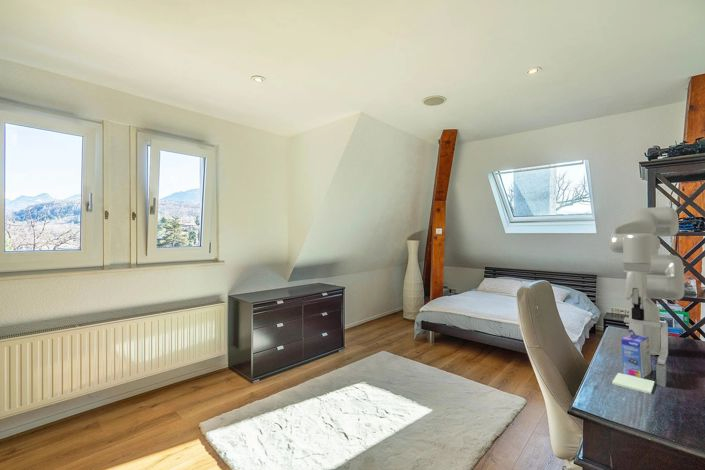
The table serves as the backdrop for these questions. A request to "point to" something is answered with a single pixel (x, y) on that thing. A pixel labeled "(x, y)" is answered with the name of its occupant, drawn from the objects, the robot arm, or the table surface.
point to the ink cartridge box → (636, 355)
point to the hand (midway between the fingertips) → (637, 319)
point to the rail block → (661, 374)
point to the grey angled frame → (664, 335)
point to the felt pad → (634, 383)
